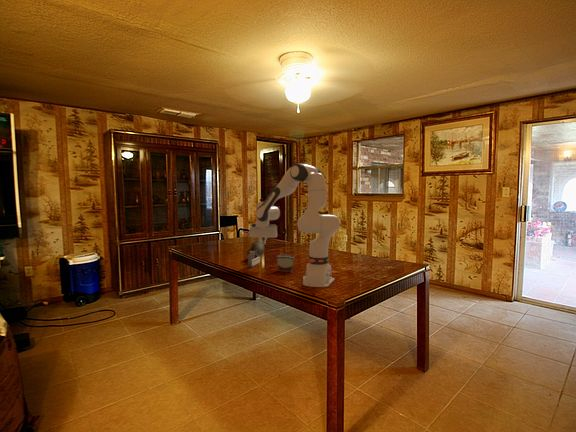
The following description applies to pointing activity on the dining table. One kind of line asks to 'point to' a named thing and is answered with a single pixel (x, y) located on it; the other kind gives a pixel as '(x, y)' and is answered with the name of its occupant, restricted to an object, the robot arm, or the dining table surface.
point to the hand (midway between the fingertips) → (263, 243)
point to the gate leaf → (255, 261)
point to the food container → (285, 262)
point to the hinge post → (249, 261)
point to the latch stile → (252, 254)
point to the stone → (257, 248)
